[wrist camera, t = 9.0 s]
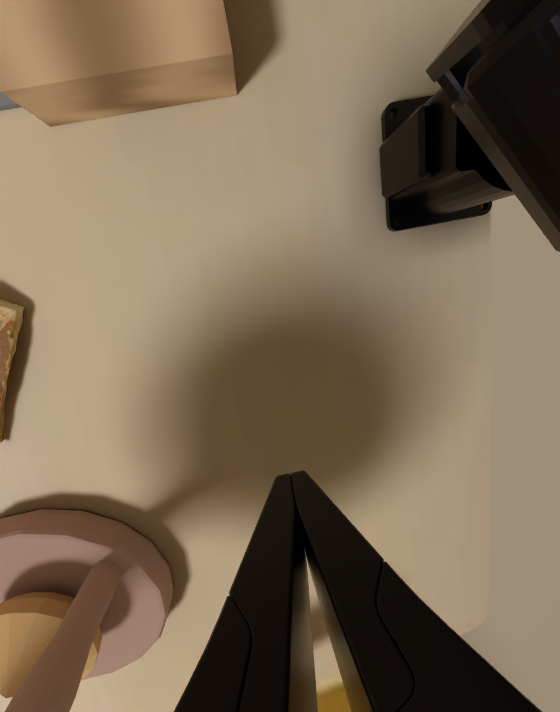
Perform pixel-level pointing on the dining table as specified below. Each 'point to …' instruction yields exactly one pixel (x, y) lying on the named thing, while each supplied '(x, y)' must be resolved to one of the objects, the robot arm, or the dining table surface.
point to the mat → (7, 102)
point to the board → (112, 56)
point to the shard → (7, 346)
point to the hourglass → (74, 603)
